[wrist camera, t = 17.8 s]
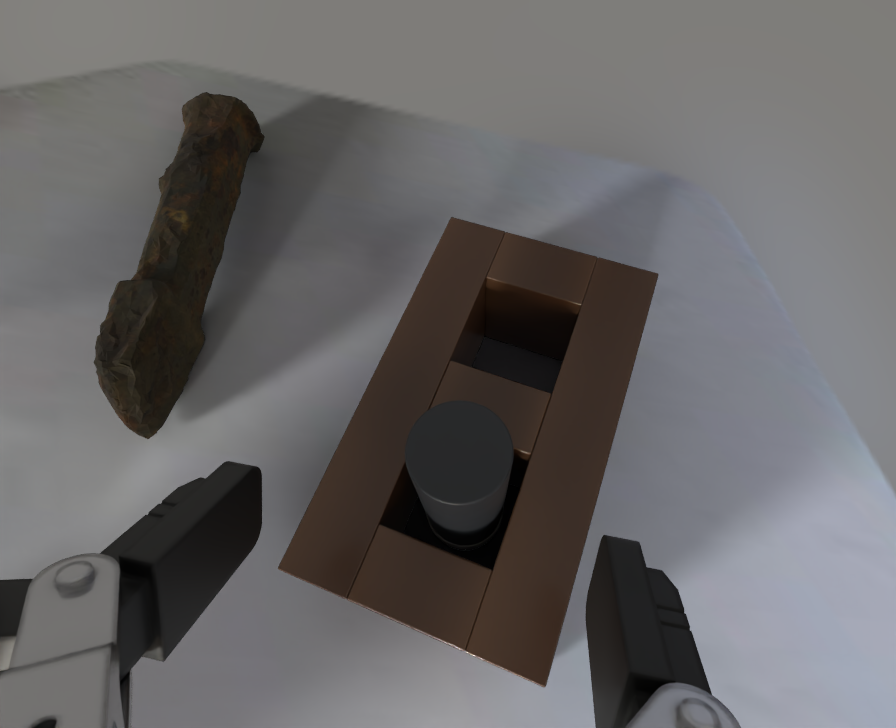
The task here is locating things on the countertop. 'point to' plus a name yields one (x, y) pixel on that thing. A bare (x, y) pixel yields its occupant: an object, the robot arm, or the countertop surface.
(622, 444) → the countertop surface
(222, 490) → the robot arm
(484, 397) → the holder
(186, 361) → the hand tool
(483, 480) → the dark grey cylinder
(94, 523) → the countertop surface
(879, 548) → the countertop surface
